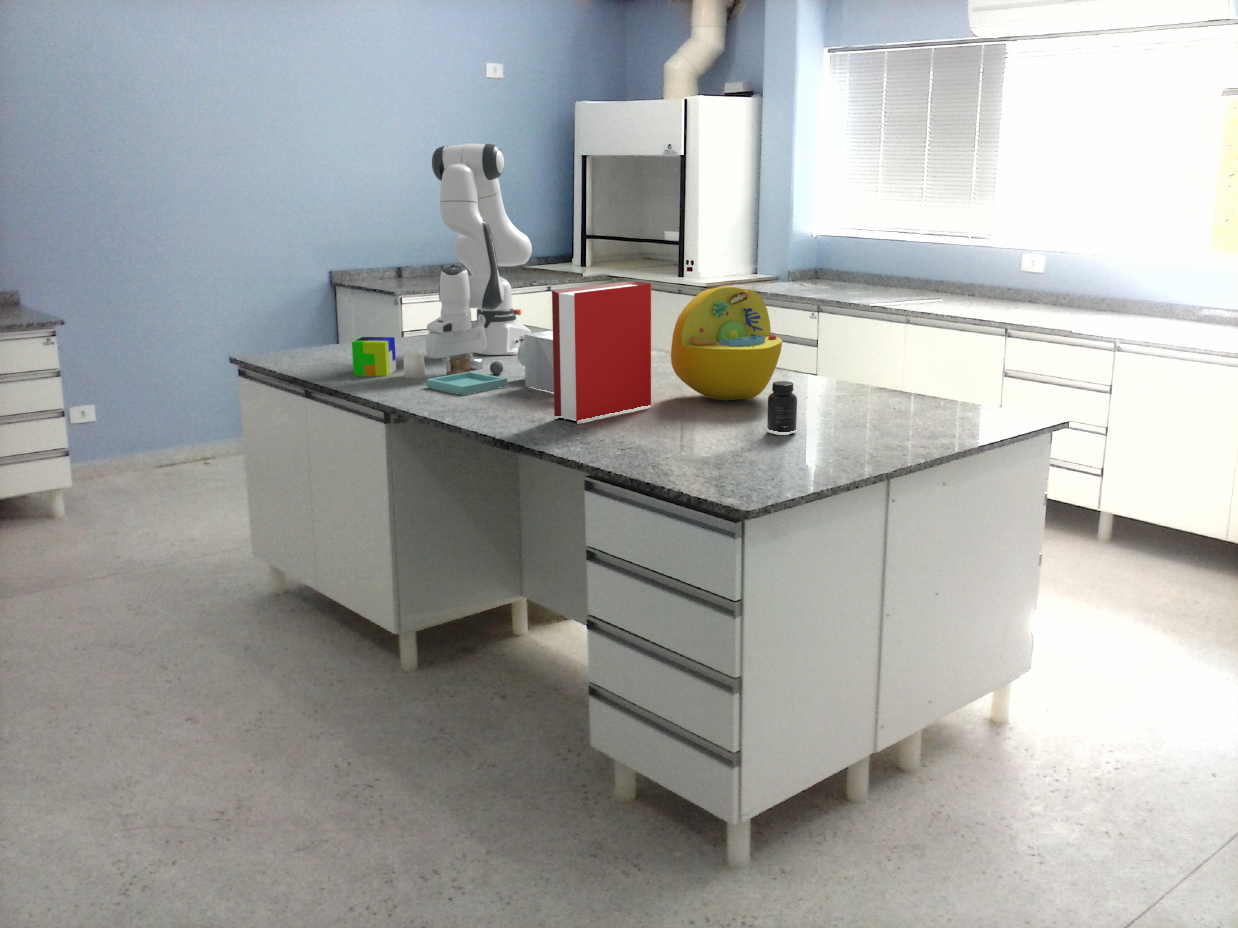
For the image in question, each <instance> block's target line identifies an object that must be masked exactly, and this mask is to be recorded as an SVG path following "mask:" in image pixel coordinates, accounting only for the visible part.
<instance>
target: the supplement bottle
mask: <svg viewBox="0 0 1238 928" xmlns="http://www.w3.org/2000/svg"><path fill="white" fill-rule="evenodd" d="M771 386H772V388H771V391H772V393H770V394H769V395H768V397H767V418H766V420H767V422H766V423H767V428H768V429H769V430H773V431H778V432H790V431H794V430H796V431H797V419H798V418H797V417H798V416H797V415H798V414H797V413H798V398H797V396H796V394H795V393H793V392H794V391H795V390H794V383H793V382H792V381H787V380H777V381H773V382H772V385H771ZM767 428H766V429H767Z"/></svg>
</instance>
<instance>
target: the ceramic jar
mask: <svg viewBox="0 0 1238 928" xmlns="http://www.w3.org/2000/svg"><path fill="white" fill-rule="evenodd" d="M402 358H403V376H404V377H403V378H404V379H410V378H412V379H415V378H416V379H422V378H425V377H426V372H425V371H426V368H425V367H426V366H425V352H423V351H417V350H416V351H412V350H411V351H406V352H403V353H402Z"/></svg>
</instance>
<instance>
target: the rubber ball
mask: <svg viewBox="0 0 1238 928" xmlns="http://www.w3.org/2000/svg"><path fill="white" fill-rule="evenodd" d="M489 371H490V372H491V374H492V375H494V376H498V375H501V374H502V373H503V371H504V365H503V363H502V362H500V361H498V360H496V361H493V362H491V364H489Z"/></svg>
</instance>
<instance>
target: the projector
mask: <svg viewBox="0 0 1238 928" xmlns="http://www.w3.org/2000/svg"><path fill="white" fill-rule="evenodd" d="M517 359H518V361H519V363H520V364H521V365H522V366H524V373H525V374H524V375H525V377H524V379H525V381H524V382H525V387H526V386H527V387H533V388H536V389H541V390H547V391H550V392H554V369H553V330H548V331H547V330H546V331H541V332H531V334H524V341H523V342H522V343H521V344H520V346H519V348H518V354H517Z"/></svg>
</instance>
